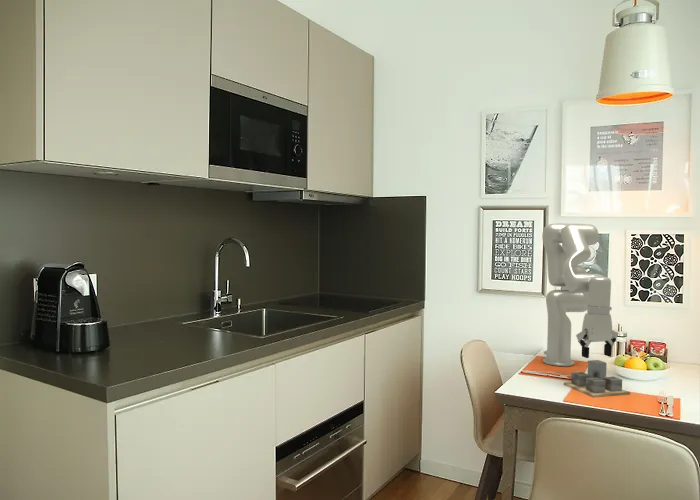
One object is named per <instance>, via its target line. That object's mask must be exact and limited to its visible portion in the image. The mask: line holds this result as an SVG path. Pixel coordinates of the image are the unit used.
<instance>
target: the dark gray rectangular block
mask: <svg viewBox="0 0 700 500" xmlns="http://www.w3.org/2000/svg"><path fill="white" fill-rule="evenodd" d="M607 367H608V366H607V362H605V361H602V360H600V359H594V360H593V359H591V360H587V374H589V375H590V378H599V379H602V380H603V377H607Z"/></svg>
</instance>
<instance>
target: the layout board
mask: <svg viewBox="0 0 700 500" xmlns="http://www.w3.org/2000/svg"><path fill="white" fill-rule="evenodd" d="M570 376H571V379H570V380H571V381H569V382H567V381H566V382H565V381H564V382H563V385H564V386H566V387H568V388H571V389H573V390H576V391H578V392H580V393H583V394H585V395H588V396H590V397H592V398H598V397H601V398H602V397H613V396H625V395H631V392H630V390H629V391H628V390H626V389H624V388H623V379H622V378H619V377H616V376H606V377H603V380H602V379H599V378H590V375H589V374H588V373H585V372H583V371H579V372H576V371H575V372H571V374H570Z"/></svg>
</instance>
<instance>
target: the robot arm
mask: <svg viewBox="0 0 700 500" xmlns="http://www.w3.org/2000/svg"><path fill="white" fill-rule="evenodd" d="M541 235H542V236H541V238H542V239H541V240H542V244H543V247H544V249H545V254H546V257H547V258H546V260H547V261H546V262H547V277H548V282H549V284H550V285H551V286H553V287H559V288H560V287H562V288H563V287H564V288H566V289H553V290H550V291H548V292H547V294H546V296H545V304H546V310H547V339H546V341H547V343H546V345H547V346H546V350H545V351H543V354H544V355H545V357H544V358H543V359H542V362H543V363H544V364H546V365H550V366H557V367H569V366H570V367H571V366H574V365H575V361H574V360H573V359H572V358H571V354H572V353H571V352H572V351H571V349H572V348H571V347H572V321H571V319H570V318H569V316H568V315H567V313H584V312H587V313H585V314H584V316H583V321H582V326H581V331H580V332H578V333H577V334H576V335H575V337H576V339H577V342H578V343H579V345H580V346H581V357H583V358H586V359H589V358H590V347H589V346H590V344H591V343H599V342H604V345H603V346H604V347H603V355H604V356H607V357H609V358H610V357H612V354H613V353H612V349H613V348H612V347H613V346H614V344H615V342H616V341H617V338H618V337H619V333H618V332H616V331H615V330H613V321H612V315H611V314H610V313H611V311H612V307H611V292H612V291H611V289H612V280H611V278H609V277H607V276H604V275H602V274H599V273H588V272H587V270H586V268H585V267H584V266H582V265H581V264H583V263H586V262H587V261H588V260H589V259H590V257H591V255H592V252H591V249H590V247H589V246H595V245H596V244H597V243H598V241H599V238H600V234H599V231H598V229H597V227H596V226H595V225H593V224H587V223H586V224H585V223H562V222H561V223H560V222H559V223H549V224H546V226H544V227H543V229H542V234H541ZM561 244H563V246H564V247H563V246H562V245H561Z"/></svg>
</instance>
